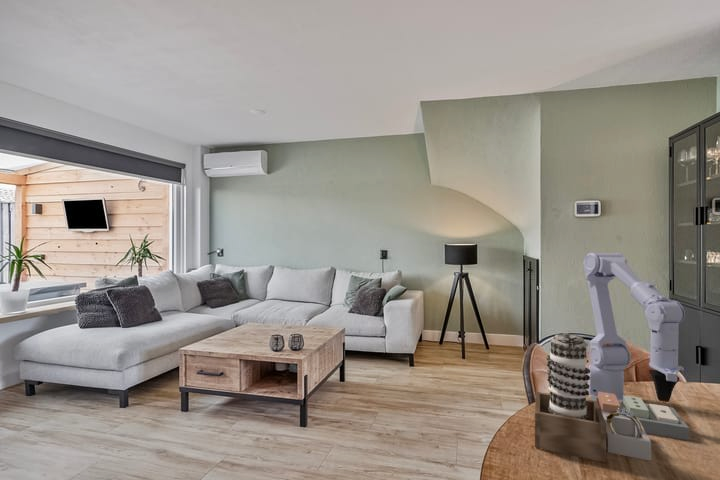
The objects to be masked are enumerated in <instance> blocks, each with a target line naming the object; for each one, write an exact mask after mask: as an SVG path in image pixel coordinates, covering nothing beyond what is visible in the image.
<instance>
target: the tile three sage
mask: <svg viewBox="0 0 720 480" xmlns="http://www.w3.org/2000/svg"><path fill="white" fill-rule="evenodd" d="M644 403H645V402H644V401H643V399H642V397H637V396H631V395H625V394H624V395H623V406H624V408H625V410H627V409H629V410H628V411H631V414H632V413H633V416H635V417H639V418H645V419H649V410H648V408H647V407H646V405H645V404H646V403H645V404H644Z"/></svg>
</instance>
